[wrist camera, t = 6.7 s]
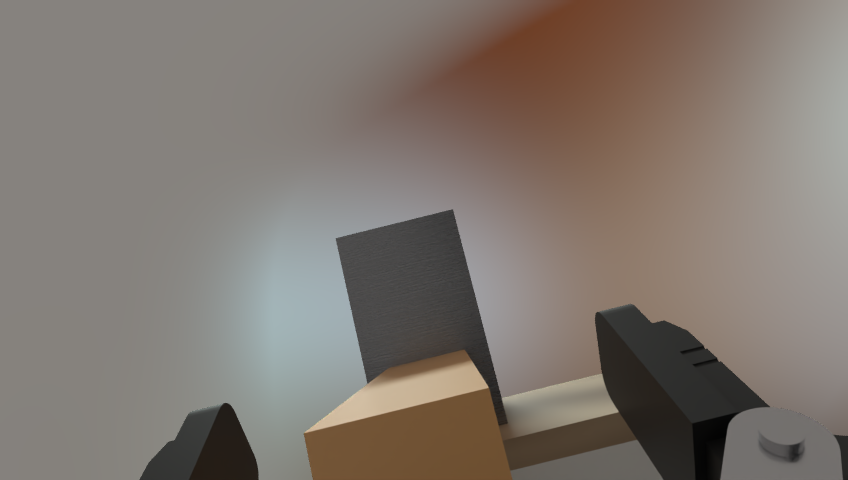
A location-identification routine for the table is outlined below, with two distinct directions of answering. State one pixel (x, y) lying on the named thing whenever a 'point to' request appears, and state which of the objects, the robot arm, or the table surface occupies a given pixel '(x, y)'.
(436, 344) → the grey hammer
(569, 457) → the plinth
